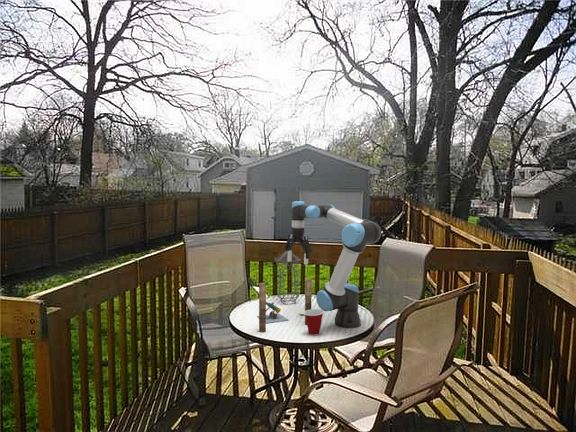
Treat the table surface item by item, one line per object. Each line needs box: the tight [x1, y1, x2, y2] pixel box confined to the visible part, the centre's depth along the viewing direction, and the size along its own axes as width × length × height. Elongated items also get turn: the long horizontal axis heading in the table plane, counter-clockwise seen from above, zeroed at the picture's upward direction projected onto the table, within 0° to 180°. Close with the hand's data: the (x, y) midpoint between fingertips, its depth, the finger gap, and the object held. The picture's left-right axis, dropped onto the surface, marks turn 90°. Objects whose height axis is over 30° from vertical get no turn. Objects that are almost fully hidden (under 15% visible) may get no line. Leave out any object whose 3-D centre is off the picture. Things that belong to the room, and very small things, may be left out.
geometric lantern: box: [273, 250, 302, 305], centre depth 299 cm, size 16×16×35 cm
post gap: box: [258, 278, 313, 333], centre depth 246 cm, size 4×32×26 cm, turn 116°
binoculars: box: [266, 301, 282, 319], centre depth 262 cm, size 9×9×10 cm
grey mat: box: [257, 312, 289, 325], centre depth 263 cm, size 14×14×1 cm
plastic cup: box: [303, 308, 325, 336], centre depth 238 cm, size 11×11×12 cm
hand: (297, 262), depth 266 cm, fingers open, 13 cm apart
